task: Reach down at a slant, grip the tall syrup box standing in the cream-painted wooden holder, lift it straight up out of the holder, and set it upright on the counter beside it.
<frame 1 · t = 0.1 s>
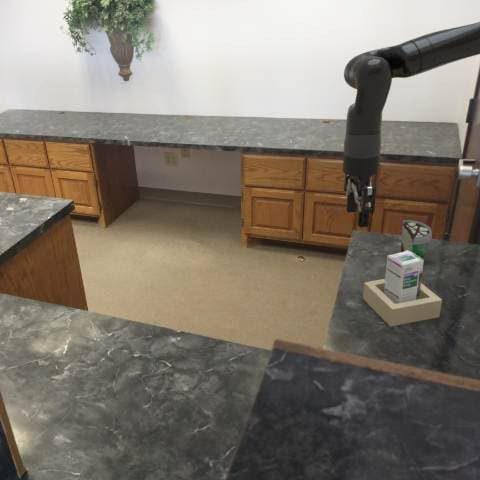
hand: (356, 218, 118), 25 cm above the counter, tool pointing down, fingers open, 8 cm apart
food container: (415, 260, 146), on the counter
syrup box: (399, 308, 127), resting in holder
holder: (399, 307, 127), on the counter
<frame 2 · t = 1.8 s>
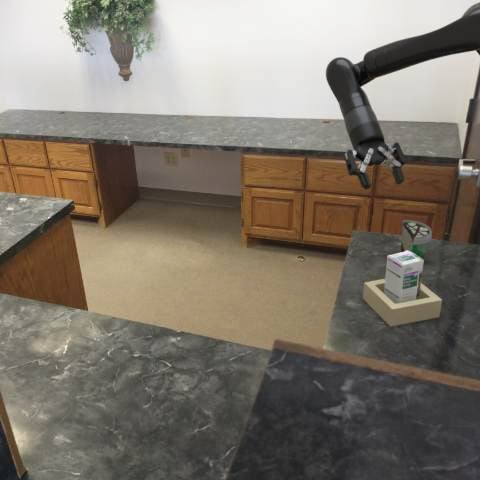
hand: (384, 185, 124), 29 cm above the counter, tool tilted 45°, fingers open, 8 cm apart
nothing on the counter moved.
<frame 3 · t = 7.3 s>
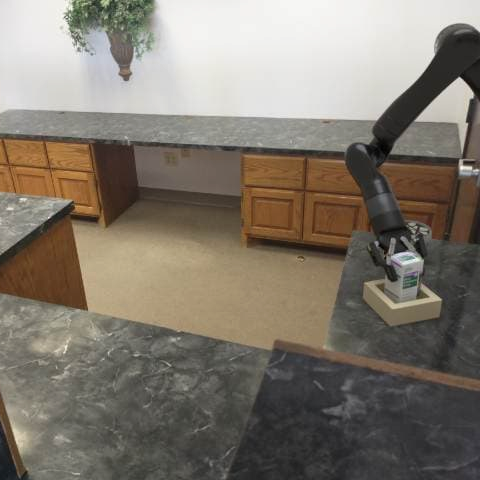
hand: (407, 278, 121), 9 cm above the counter, tool tilted 45°, fingers closed on syrup box, 6 cm apart
syrup box: (399, 308, 127), resting in holder, touching gripper
everything else where it was.
when the fingers open (9 cm above the counter, at t = 17.3 s): syrup box stays where it is, on the counter.
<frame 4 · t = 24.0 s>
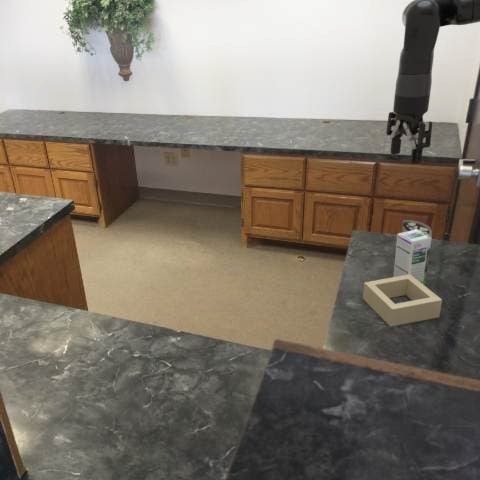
hand: (404, 158, 127), 33 cm above the counter, tool pointing down, fingers open, 8 cm apart
syrup box: (408, 283, 136), on the counter
everything else where it was.
at the end: syrup box inside the target area (0.2 cm from its centre), on the counter; syrup box tilted 0°; the gripper is holding nothing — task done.
